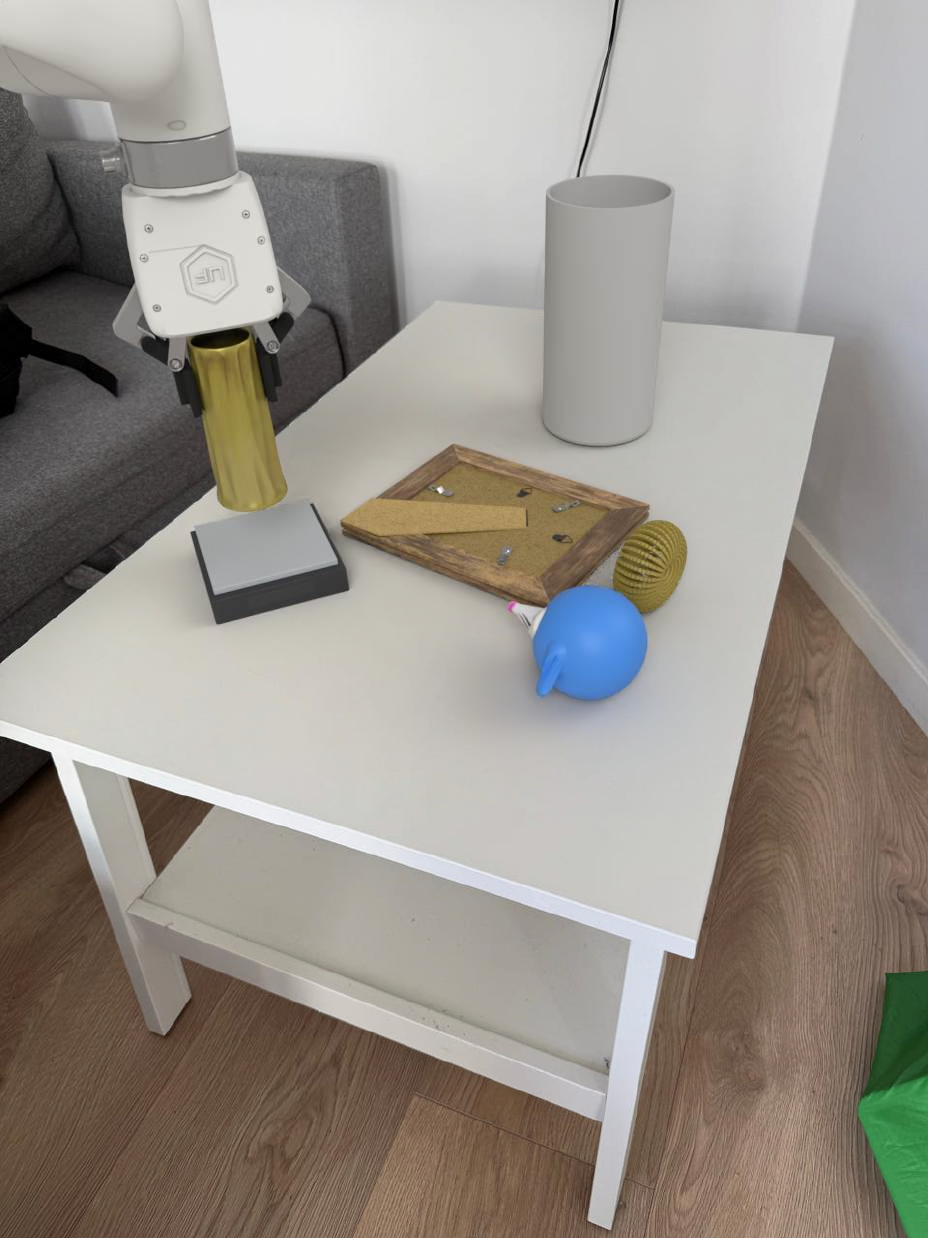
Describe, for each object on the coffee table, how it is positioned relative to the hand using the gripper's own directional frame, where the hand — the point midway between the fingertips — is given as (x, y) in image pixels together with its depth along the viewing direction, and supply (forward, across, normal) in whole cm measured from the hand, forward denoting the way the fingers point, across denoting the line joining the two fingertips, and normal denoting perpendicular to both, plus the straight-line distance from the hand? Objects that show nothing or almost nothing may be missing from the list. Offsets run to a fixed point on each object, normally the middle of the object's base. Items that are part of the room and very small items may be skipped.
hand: (233, 400), depth 74 cm
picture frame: (+17, +22, -2) cm, 28 cm away
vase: (+9, 0, 0) cm, 9 cm away
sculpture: (+17, +29, -19) cm, 39 cm away
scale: (+17, 0, 0) cm, 17 cm away
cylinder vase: (+17, +41, +13) cm, 46 cm away
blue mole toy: (+17, +19, -24) cm, 35 cm away
